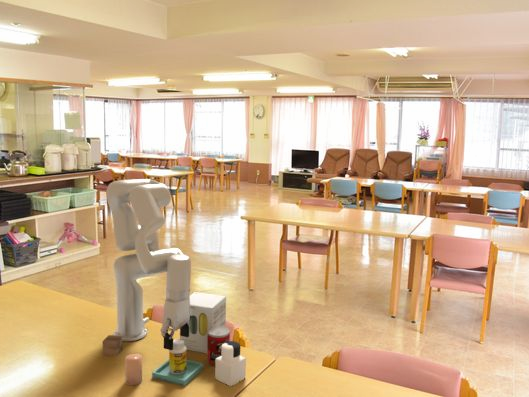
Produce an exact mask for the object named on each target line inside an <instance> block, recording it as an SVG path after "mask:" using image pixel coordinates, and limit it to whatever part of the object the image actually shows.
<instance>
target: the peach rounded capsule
mask: <svg viewBox="0 0 529 397" xmlns="http://www.w3.org/2000/svg"><path fill="white" fill-rule="evenodd" d="M142 382H143V355H142V354H139V353H130V354H128V355H126V356H125V384H126V385H128V386H139V385H140V384H141V383H142Z"/></svg>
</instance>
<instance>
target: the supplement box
mask: <svg viewBox="0 0 529 397" xmlns="http://www.w3.org/2000/svg"><path fill="white" fill-rule="evenodd" d="M190 309H192V314H191V319H190V325H188V326H189V337H184V336H180V335H179V339H182V340H183V341H184V345H185V346H186V349H187V351H188V350H189V351H193V352H198V353H204V354H207V337H208V330H209V329H210V328H212V327H215V326H223V327H226V328H227V326H226V325H227V323H226V318H227V316H226V315H227V311H226V310H227V296H225V295H221V294H220V295H219V294H212V293H205V292H198V291H194V292H193V293H192V294H190Z"/></svg>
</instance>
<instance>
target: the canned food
mask: <svg viewBox="0 0 529 397" xmlns="http://www.w3.org/2000/svg"><path fill="white" fill-rule="evenodd" d="M230 337H231V332H230V329H229V328H228V327H227V326H226V327H223V326H215V327H212V328H210V329H209V330H208V337H207V353H206V359H207V362H208V363H209V365H211V366H214V365H215V360H216V358H218V357H220V356H221V351H222V344H223V343H225V342H228V341H231V340H230V339H231V338H230Z"/></svg>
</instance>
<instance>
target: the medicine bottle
mask: <svg viewBox="0 0 529 397" xmlns="http://www.w3.org/2000/svg"><path fill="white" fill-rule="evenodd" d="M246 363H247V358H246V357H245V356H242V355H241V344H240V343H239V342H238V341H233V340H230V341H228V342H225V343H223V344H222V351H221V356H220V357H218V358H216V360H215V371H214V372H215V373H214V375H215V376H214V379H215V380H217V381H219V382H221V383H223V384H225V385H226V384H227V386H228V385H229V387H233V386H234V385H236V384H238V383H240V382H241V381H243V380H244V378H245V379H246V371H247V369H246V368H247V367H246V366H247V364H246ZM239 381H240V382H239ZM237 382H238V383H237ZM232 385H233V386H232Z"/></svg>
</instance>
